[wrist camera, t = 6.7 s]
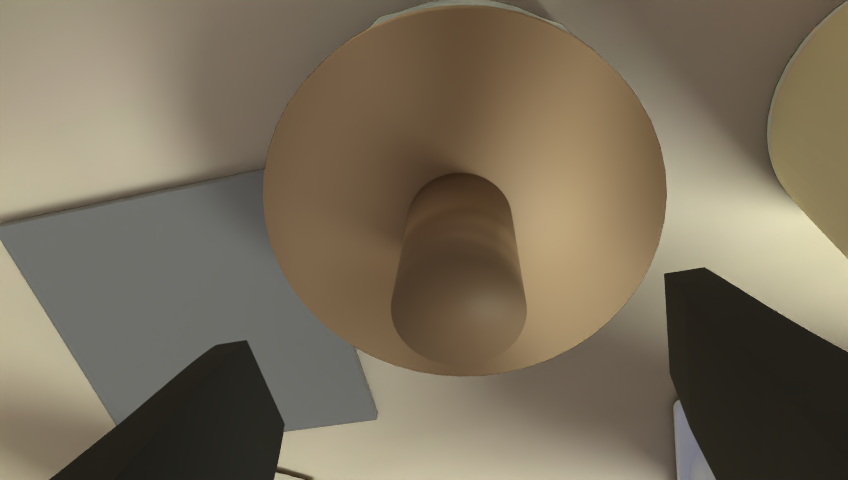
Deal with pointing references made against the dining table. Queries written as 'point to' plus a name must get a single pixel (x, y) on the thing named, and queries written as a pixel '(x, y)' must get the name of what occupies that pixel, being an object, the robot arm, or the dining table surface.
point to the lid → (464, 191)
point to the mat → (184, 298)
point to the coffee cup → (815, 127)
